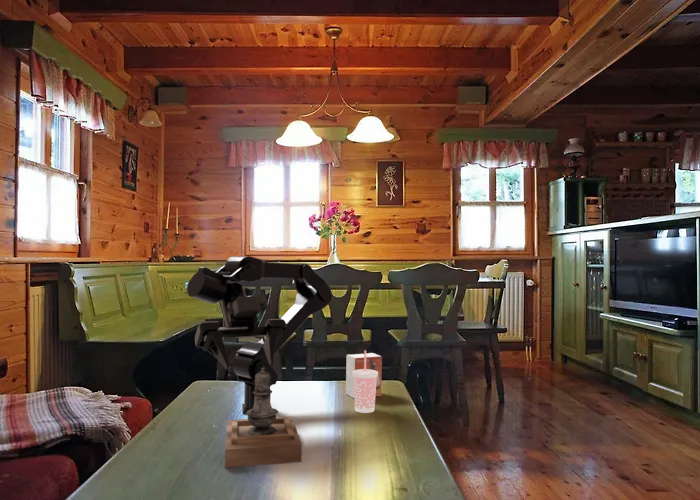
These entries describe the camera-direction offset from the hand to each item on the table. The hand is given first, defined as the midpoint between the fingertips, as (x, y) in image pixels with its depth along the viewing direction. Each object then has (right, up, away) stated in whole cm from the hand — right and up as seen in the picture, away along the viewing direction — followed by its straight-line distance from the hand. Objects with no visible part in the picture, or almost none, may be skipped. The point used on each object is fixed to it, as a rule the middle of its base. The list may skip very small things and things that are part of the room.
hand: (250, 366), depth 102 cm
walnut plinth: (+4, -14, -8) cm, 16 cm away
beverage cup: (+24, -15, +17) cm, 33 cm away
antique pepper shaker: (+4, -11, -8) cm, 14 cm away
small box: (+24, -15, +30) cm, 41 cm away
